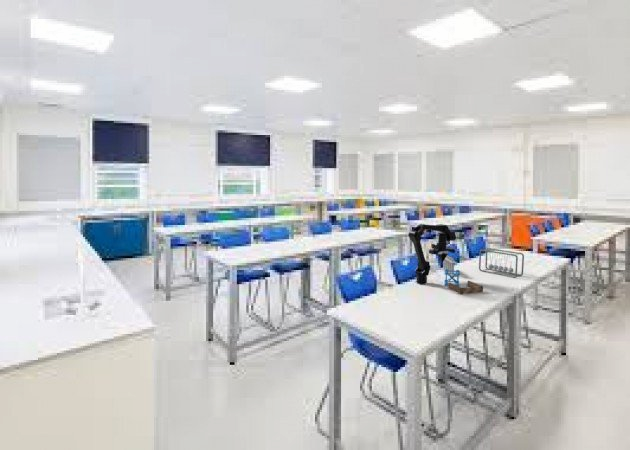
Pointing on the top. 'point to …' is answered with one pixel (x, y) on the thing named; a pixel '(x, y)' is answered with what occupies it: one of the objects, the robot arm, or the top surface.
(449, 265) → the test tube rack
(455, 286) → the box
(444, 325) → the top surface
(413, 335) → the top surface
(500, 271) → the newton's cradle
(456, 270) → the molecular structure
